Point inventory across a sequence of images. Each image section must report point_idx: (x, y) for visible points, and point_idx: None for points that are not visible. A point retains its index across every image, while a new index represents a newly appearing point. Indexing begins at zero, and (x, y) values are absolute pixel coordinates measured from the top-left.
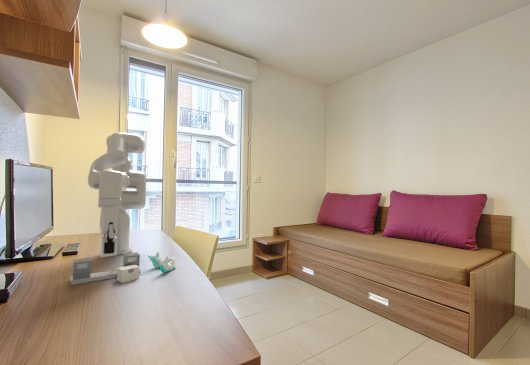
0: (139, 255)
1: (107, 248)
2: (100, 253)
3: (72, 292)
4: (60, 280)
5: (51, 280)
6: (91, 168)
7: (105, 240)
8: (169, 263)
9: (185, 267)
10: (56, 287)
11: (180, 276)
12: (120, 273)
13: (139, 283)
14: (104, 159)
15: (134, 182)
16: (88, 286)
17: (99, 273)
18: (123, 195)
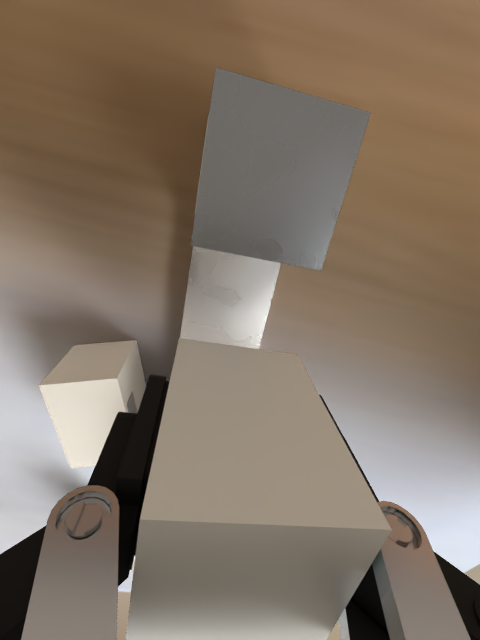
0: None
1: (108, 436)
2: (285, 359)
3: (46, 76)
4: (366, 82)
5: (416, 27)
6: None
7: (98, 530)
8: (134, 560)
9: (133, 571)
10: (227, 12)
11: (18, 531)
12: (79, 367)
13: (11, 398)
14: None
15: None
16: (114, 192)
17: (246, 291)
18: None
